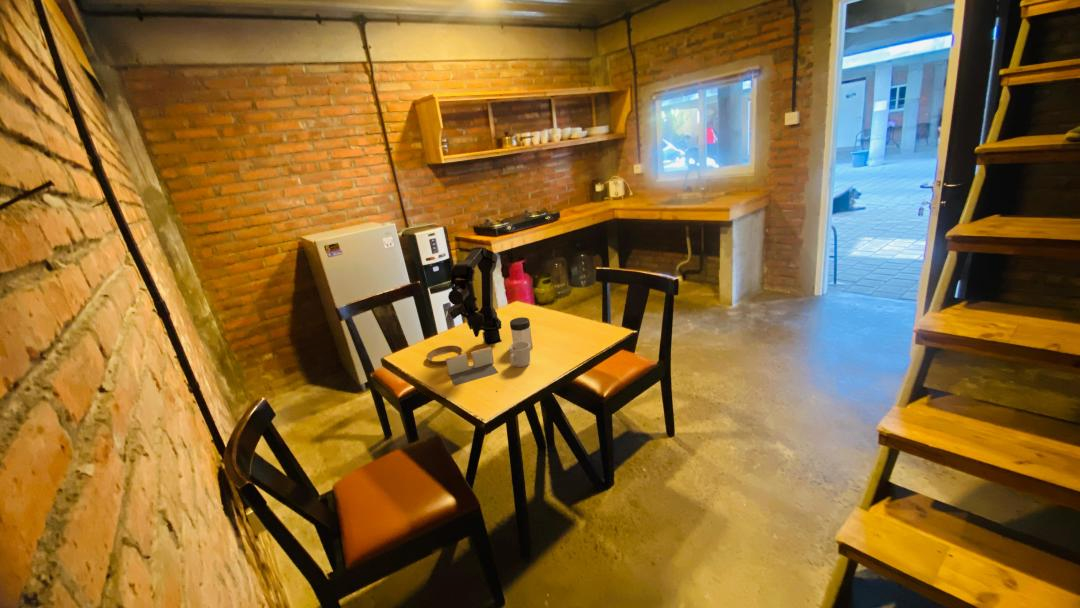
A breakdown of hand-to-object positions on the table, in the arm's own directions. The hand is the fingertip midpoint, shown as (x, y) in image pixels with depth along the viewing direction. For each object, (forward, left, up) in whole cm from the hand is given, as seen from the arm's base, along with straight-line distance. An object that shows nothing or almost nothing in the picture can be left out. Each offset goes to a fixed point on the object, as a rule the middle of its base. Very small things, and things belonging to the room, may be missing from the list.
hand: (473, 332), depth 180 cm
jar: (-19, 0, -12) cm, 23 cm away
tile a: (0, +6, -12) cm, 13 cm away
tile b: (+10, +6, -12) cm, 16 cm away
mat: (+5, +10, -12) cm, 16 cm away
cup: (-12, +15, -12) cm, 23 cm away
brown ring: (+12, -10, -12) cm, 20 cm away
